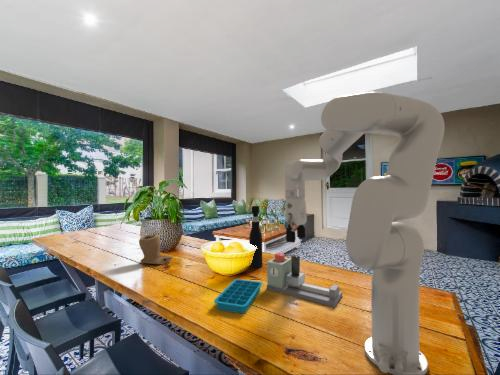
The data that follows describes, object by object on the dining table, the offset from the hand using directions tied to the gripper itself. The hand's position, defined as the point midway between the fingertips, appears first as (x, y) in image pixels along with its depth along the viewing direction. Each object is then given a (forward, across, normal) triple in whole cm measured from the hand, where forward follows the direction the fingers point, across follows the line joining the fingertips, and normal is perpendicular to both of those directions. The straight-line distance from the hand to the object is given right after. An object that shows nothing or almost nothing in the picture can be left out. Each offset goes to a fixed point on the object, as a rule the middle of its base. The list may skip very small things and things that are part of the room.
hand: (296, 239), depth 92 cm
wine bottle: (+19, +16, +29) cm, 38 cm away
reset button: (+13, +1, +8) cm, 15 cm away
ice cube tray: (+20, -16, +15) cm, 30 cm away
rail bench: (+20, +1, -2) cm, 20 cm away
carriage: (+18, +1, +1) cm, 18 cm away
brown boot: (+18, -9, +77) cm, 80 cm away
